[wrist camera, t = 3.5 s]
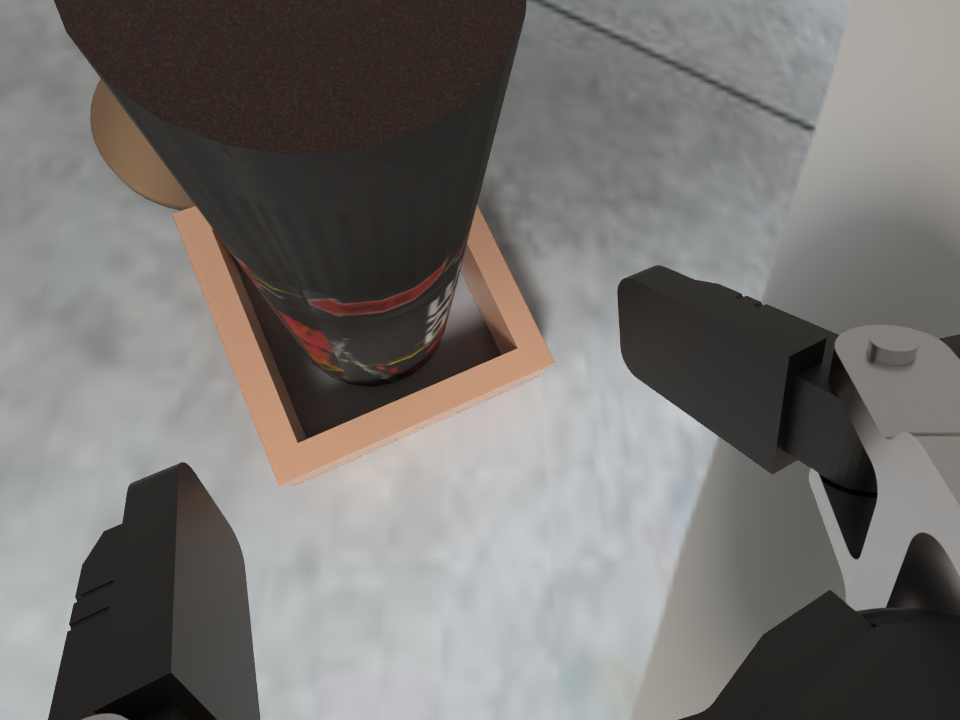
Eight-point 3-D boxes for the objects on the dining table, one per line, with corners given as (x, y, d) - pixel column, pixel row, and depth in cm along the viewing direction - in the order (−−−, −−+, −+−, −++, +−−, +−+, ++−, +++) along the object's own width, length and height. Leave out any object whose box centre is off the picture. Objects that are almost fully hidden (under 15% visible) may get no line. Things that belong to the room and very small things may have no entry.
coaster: (136, 240, 21) (128, 233, 20) (72, 69, 22) (63, 57, 21) (337, 174, 23) (335, 166, 22) (267, 18, 24) (263, 7, 23)
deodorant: (317, 225, 22) (148, -281, 7) (461, 262, 22) (563, -146, 8) (272, 365, 20) (-47, 72, 6) (427, 402, 21) (477, 212, 6)
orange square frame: (294, 485, 20) (278, 485, 17) (198, 244, 21) (171, 213, 19) (538, 376, 22) (554, 362, 19) (435, 164, 23) (439, 127, 21)
